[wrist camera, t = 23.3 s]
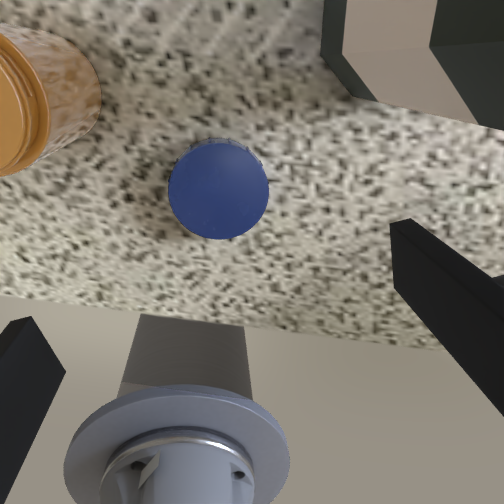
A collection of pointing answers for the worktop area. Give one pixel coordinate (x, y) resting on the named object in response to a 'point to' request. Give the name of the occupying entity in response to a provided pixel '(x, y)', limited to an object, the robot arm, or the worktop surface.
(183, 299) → the worktop surface
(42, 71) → the jam jar
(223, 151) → the jam lid
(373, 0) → the wine bottle
